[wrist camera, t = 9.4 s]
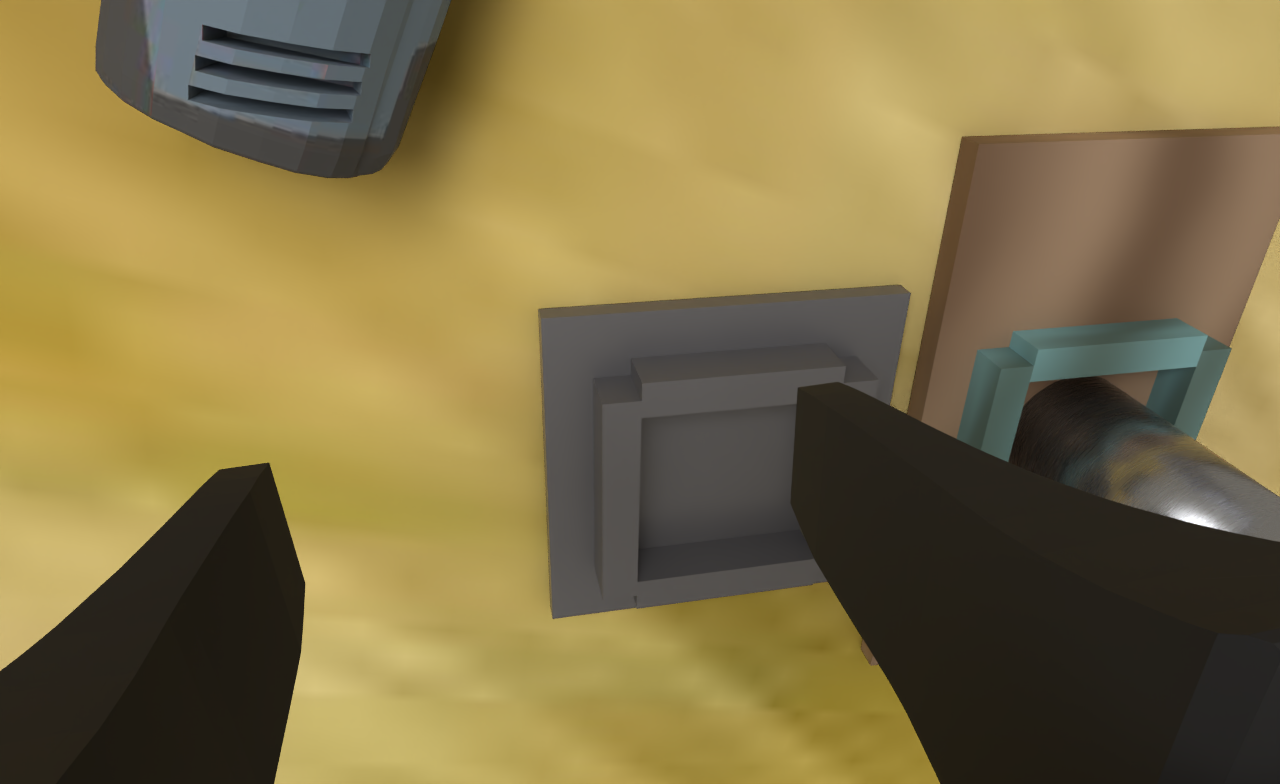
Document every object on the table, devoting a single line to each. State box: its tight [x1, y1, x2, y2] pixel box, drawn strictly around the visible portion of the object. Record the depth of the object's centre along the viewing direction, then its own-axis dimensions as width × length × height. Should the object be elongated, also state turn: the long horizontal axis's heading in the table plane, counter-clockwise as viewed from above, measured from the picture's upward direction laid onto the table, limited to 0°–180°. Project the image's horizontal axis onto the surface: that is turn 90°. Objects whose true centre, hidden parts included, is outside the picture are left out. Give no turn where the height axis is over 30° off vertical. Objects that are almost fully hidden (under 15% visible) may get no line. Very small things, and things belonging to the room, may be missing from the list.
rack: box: [861, 127, 1280, 665], centre depth 27 cm, size 10×18×2 cm, turn 179°
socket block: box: [538, 285, 911, 619], centre depth 25 cm, size 10×10×2 cm
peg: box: [1008, 376, 1280, 542], centre depth 24 cm, size 4×4×7 cm
